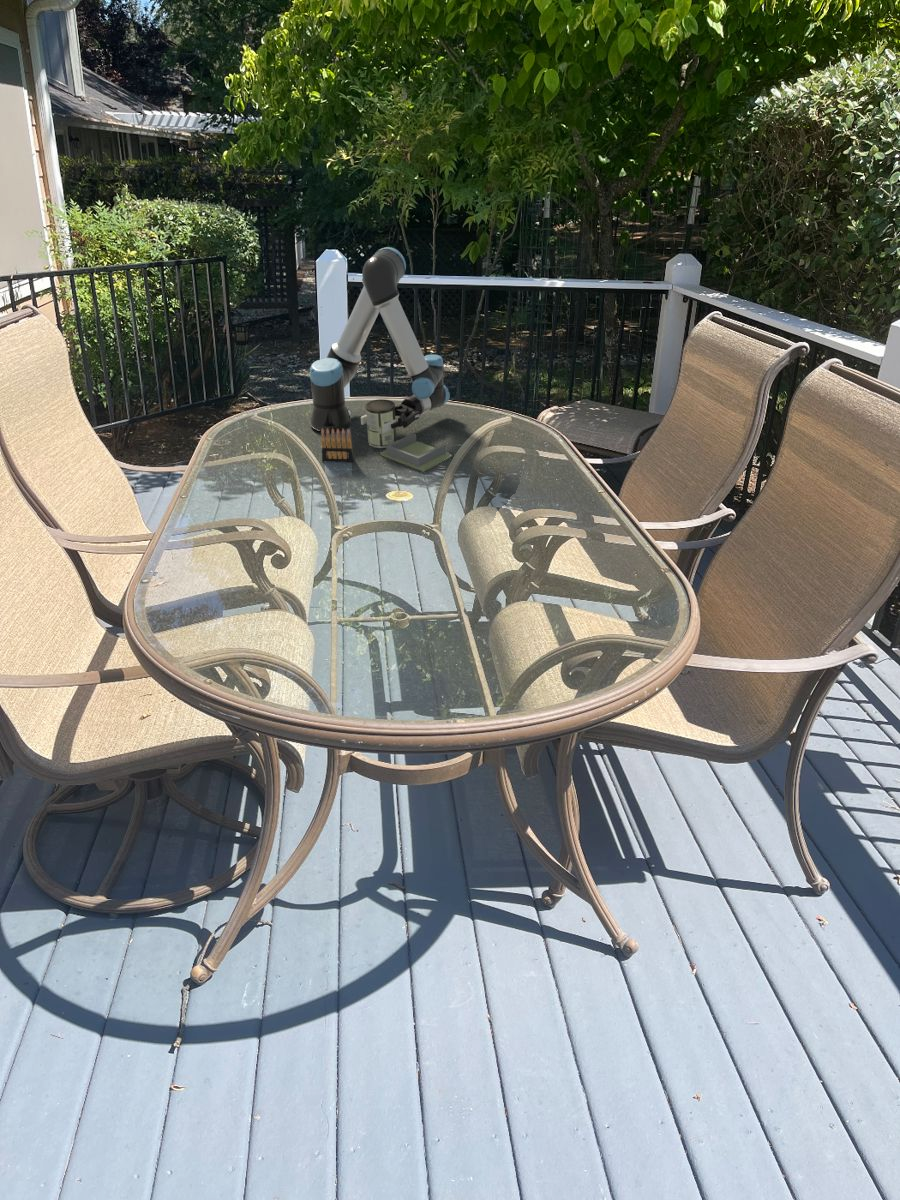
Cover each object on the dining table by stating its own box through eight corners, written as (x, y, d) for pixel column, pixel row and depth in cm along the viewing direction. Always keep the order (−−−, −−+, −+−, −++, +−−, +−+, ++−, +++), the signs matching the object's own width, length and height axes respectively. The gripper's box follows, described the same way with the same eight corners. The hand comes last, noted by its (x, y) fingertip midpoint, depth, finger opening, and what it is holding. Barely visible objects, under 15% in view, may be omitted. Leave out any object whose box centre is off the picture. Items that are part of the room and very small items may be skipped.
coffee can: (379, 433, 320) (377, 396, 312) (402, 440, 315) (400, 402, 307) (361, 444, 313) (359, 406, 305) (385, 450, 308) (383, 412, 300)
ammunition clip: (322, 461, 301) (319, 429, 294) (323, 459, 303) (320, 426, 296) (353, 462, 301) (350, 429, 294) (354, 460, 302) (351, 427, 295)
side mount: (380, 455, 305) (379, 444, 303) (410, 441, 314) (409, 430, 312) (423, 471, 294) (422, 460, 292) (452, 456, 304) (452, 446, 301)
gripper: (439, 423, 316) (396, 443, 303) (393, 407, 329) (350, 426, 315) (438, 403, 312) (395, 423, 298) (392, 388, 324) (349, 406, 311)
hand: (372, 424), depth 307 cm, fingers closed on coffee can, 10 cm apart
